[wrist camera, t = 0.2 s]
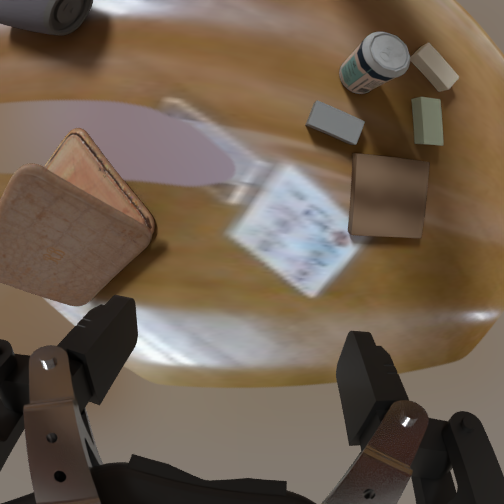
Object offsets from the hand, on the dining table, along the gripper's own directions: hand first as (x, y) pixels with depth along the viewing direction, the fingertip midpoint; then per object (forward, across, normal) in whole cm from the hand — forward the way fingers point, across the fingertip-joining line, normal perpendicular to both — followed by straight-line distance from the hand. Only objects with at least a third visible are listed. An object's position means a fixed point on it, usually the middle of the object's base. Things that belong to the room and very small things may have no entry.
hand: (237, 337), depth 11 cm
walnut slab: (+28, -16, -3) cm, 33 cm away
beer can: (+29, -9, -17) cm, 35 cm away
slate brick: (+29, -7, -10) cm, 31 cm away
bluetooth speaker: (+29, +39, -30) cm, 57 cm away
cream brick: (+29, -20, -22) cm, 41 cm away
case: (+29, +27, +6) cm, 40 cm away
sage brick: (+29, -19, -14) cm, 37 cm away
